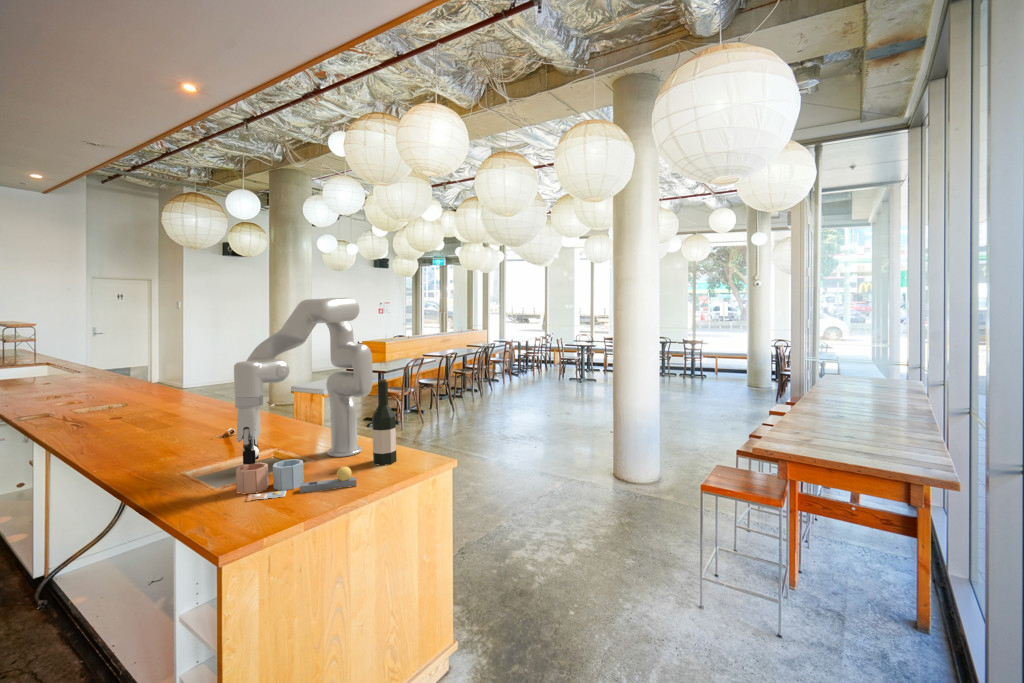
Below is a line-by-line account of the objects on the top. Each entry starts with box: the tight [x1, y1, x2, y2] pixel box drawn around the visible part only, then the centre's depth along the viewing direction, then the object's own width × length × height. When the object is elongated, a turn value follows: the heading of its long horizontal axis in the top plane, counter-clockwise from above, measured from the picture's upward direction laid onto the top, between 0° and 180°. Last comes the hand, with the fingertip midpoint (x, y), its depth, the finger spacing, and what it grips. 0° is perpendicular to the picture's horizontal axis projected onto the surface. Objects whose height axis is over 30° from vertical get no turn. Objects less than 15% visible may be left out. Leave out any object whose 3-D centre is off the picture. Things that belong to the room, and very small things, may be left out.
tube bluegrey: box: [272, 458, 305, 491], centre depth 146 cm, size 8×8×7 cm
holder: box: [299, 476, 357, 494], centre depth 143 cm, size 3×16×2 cm, turn 109°
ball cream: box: [241, 446, 260, 458], centre depth 142 cm, size 4×4×4 cm
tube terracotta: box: [235, 462, 270, 494], centre depth 142 cm, size 8×8×7 cm
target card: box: [246, 490, 287, 500], centre depth 137 cm, size 4×10×1 cm, turn 109°
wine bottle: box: [371, 378, 397, 466], centre depth 168 cm, size 8×8×30 cm
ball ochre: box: [336, 466, 352, 481], centre depth 144 cm, size 4×4×4 cm
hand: (251, 461), depth 142 cm, fingers closed on ball cream, 4 cm apart
